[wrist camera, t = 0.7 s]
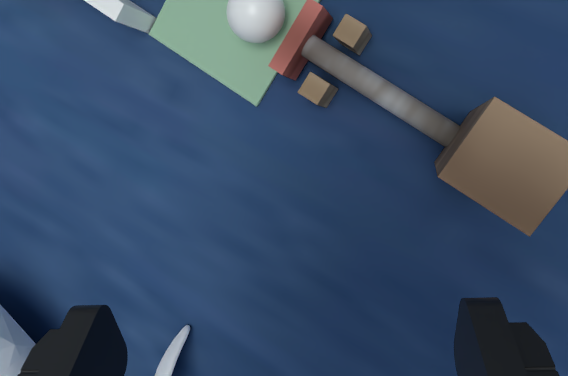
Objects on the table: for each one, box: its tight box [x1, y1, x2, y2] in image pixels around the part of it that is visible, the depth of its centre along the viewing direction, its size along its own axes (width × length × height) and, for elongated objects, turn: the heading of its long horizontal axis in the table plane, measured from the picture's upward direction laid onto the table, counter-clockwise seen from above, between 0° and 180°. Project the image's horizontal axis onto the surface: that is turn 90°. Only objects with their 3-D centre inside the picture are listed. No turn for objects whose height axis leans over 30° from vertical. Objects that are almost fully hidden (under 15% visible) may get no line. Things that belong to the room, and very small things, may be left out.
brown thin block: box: [268, 0, 568, 237], centre depth 26 cm, size 4×15×12 cm, turn 57°
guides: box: [298, 14, 372, 108], centre depth 31 cm, size 5×1×3 cm, turn 147°
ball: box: [226, 0, 285, 43], centre depth 32 cm, size 4×4×4 cm
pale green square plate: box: [149, 0, 321, 106], centre depth 34 cm, size 10×9×1 cm
